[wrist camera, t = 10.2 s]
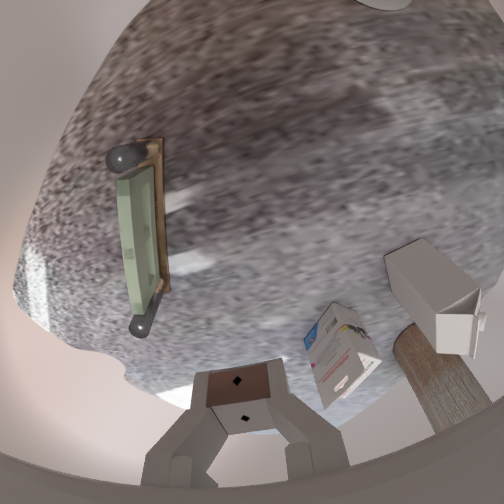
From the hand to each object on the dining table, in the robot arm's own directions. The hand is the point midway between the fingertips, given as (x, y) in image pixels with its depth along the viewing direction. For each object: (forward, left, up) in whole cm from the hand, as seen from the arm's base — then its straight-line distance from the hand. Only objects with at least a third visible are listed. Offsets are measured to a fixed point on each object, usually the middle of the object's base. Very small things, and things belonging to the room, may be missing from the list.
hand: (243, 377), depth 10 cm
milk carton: (+10, +26, -29) cm, 40 cm away
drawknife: (+4, -11, -29) cm, 31 cm away
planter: (+26, +34, -29) cm, 52 cm away
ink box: (+21, +15, -29) cm, 39 cm away
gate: (+5, -11, -28) cm, 30 cm away
